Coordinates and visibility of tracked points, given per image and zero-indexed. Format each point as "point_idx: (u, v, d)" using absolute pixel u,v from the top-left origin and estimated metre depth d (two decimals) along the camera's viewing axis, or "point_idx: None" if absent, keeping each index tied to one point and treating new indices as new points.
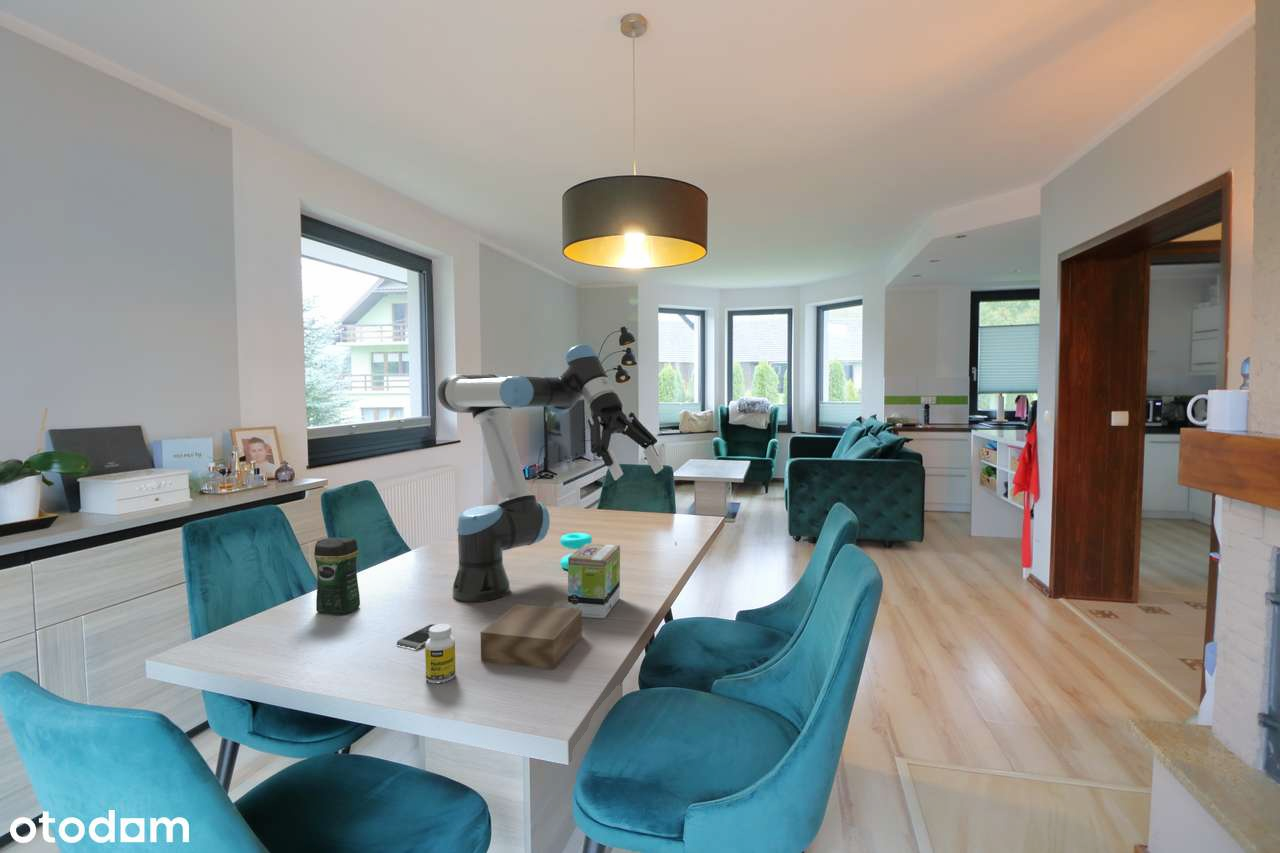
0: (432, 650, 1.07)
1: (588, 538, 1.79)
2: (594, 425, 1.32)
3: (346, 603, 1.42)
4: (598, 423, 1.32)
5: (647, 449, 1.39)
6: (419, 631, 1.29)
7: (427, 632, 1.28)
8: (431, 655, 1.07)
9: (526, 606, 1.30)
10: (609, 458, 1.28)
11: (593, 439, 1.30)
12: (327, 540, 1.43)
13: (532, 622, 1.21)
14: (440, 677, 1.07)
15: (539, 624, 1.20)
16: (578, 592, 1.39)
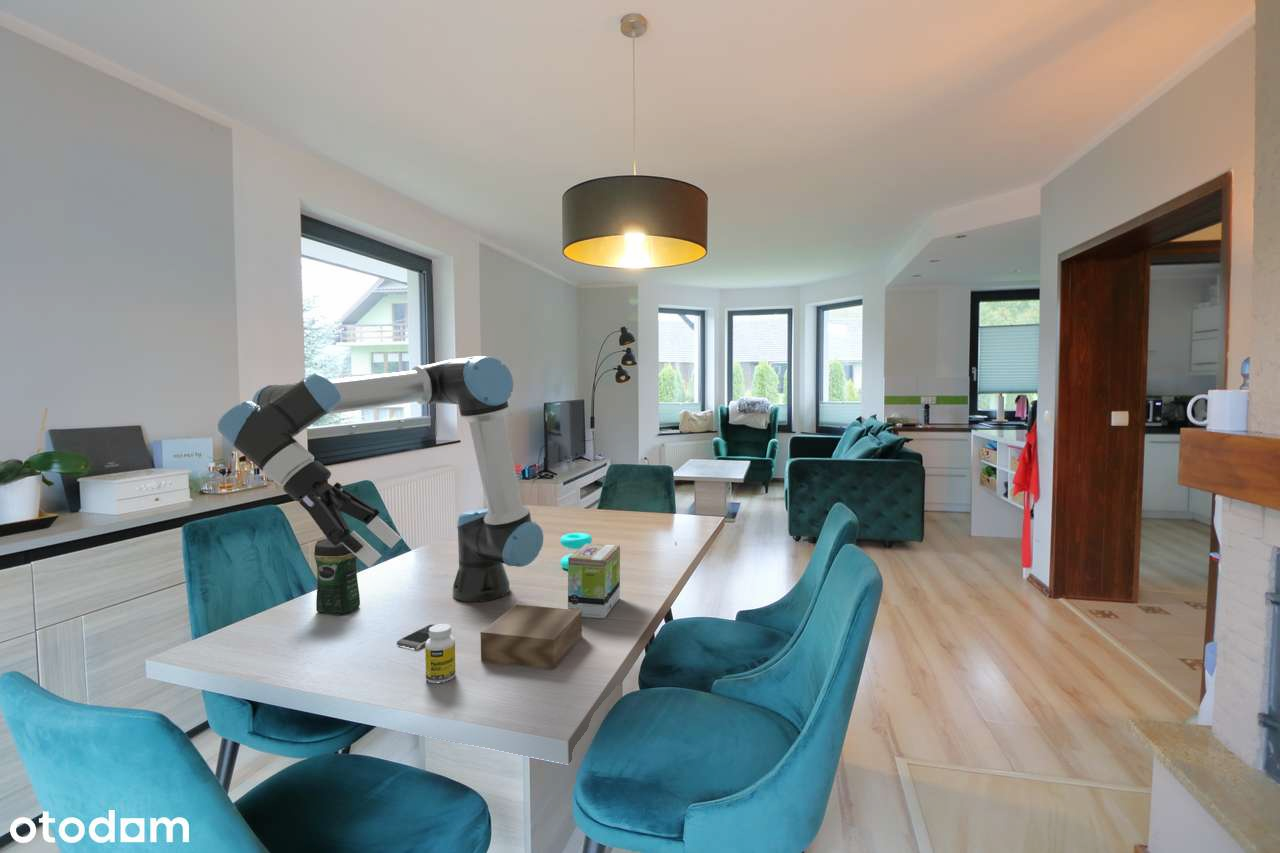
0: (432, 650, 1.07)
1: (588, 538, 1.79)
2: None
3: (346, 603, 1.42)
4: None
5: None
6: (419, 631, 1.29)
7: (427, 632, 1.28)
8: (431, 655, 1.07)
9: (526, 606, 1.30)
10: None
11: None
12: (327, 540, 1.44)
13: (532, 622, 1.21)
14: (440, 677, 1.07)
15: (539, 624, 1.20)
16: (578, 592, 1.39)
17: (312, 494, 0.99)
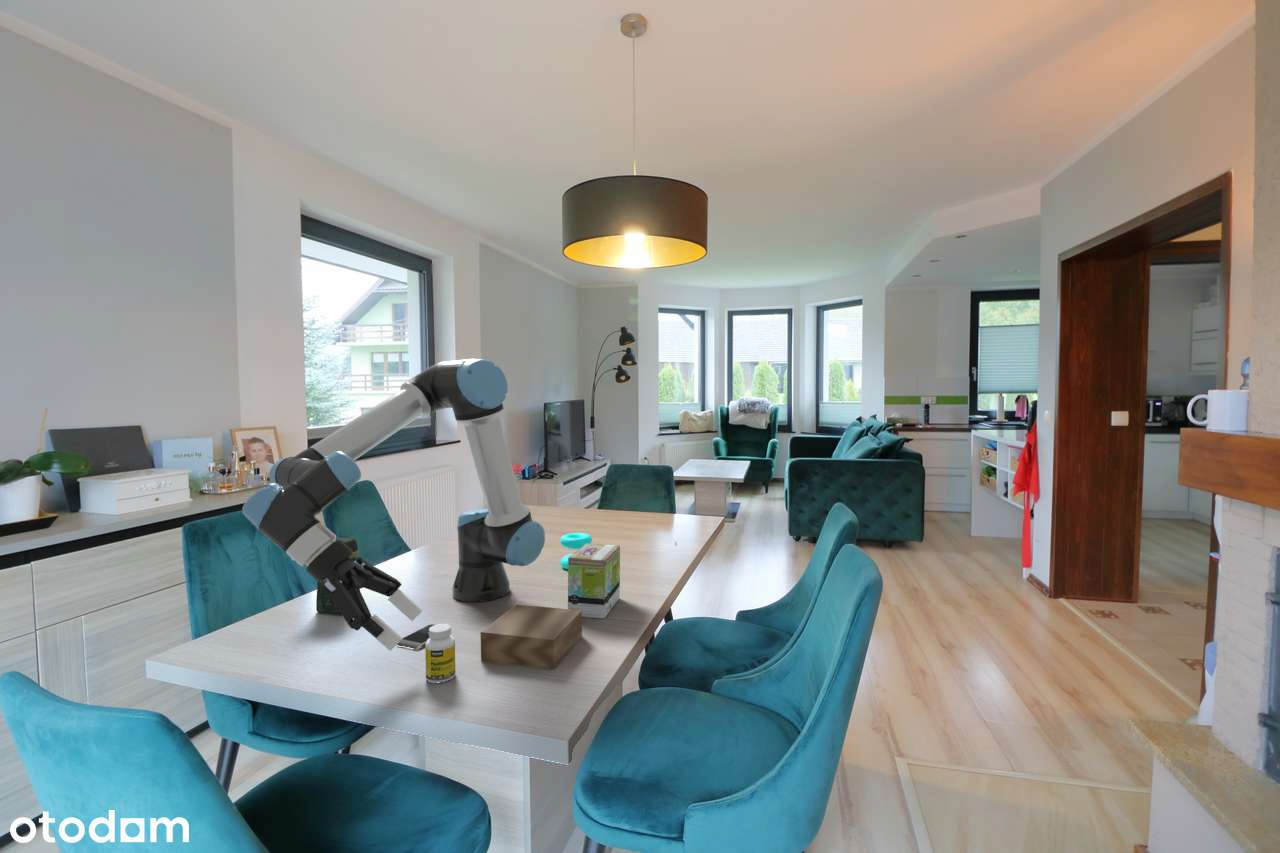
0: (432, 650, 1.07)
1: (588, 538, 1.79)
2: None
3: None
4: None
5: None
6: (419, 631, 1.29)
7: (427, 632, 1.28)
8: (431, 655, 1.07)
9: (526, 606, 1.30)
10: None
11: None
12: None
13: (532, 622, 1.21)
14: (440, 677, 1.07)
15: (539, 624, 1.20)
16: (578, 592, 1.39)
17: (334, 579, 1.00)
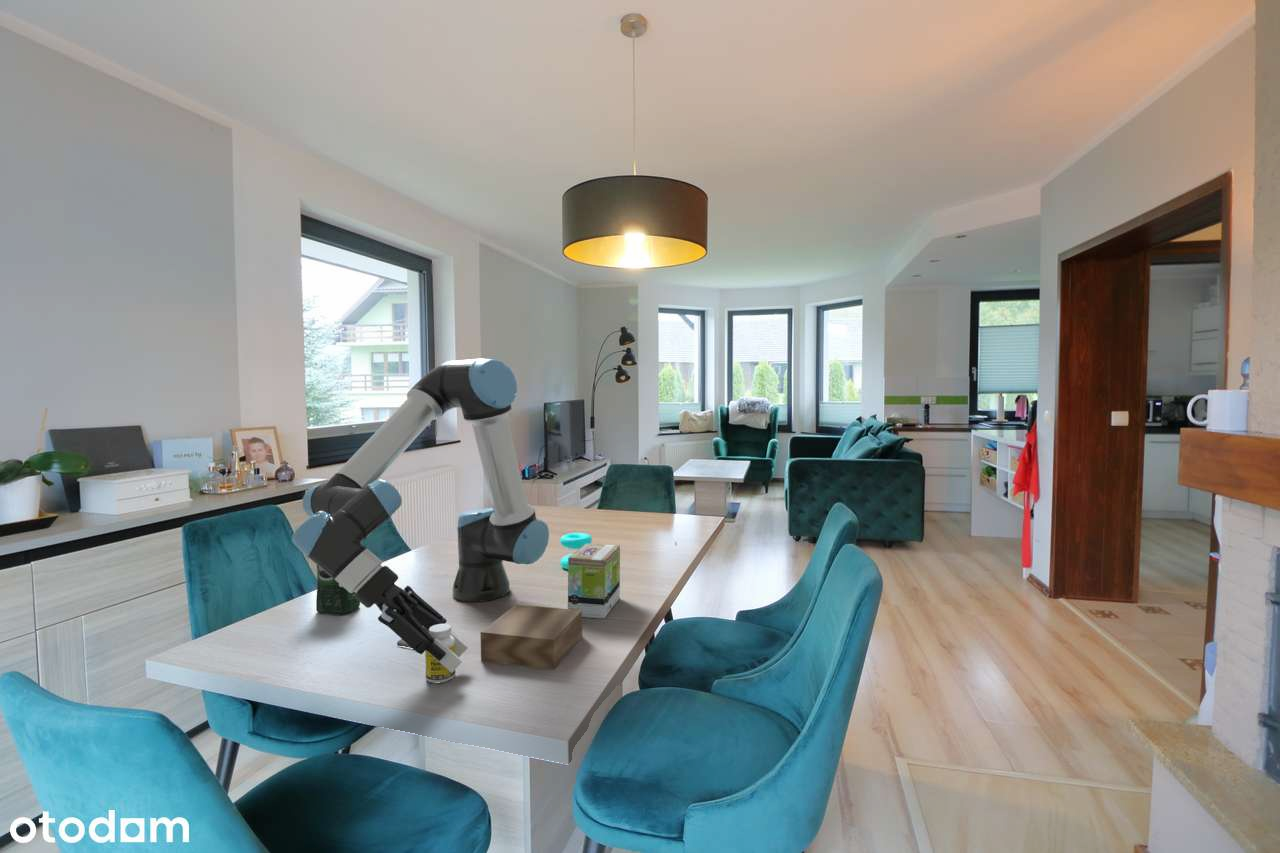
0: None
1: (588, 538, 1.79)
2: None
3: (346, 603, 1.42)
4: None
5: None
6: None
7: None
8: (431, 655, 1.07)
9: (526, 606, 1.30)
10: None
11: None
12: None
13: (532, 622, 1.21)
14: (440, 677, 1.07)
15: (539, 624, 1.20)
16: (578, 592, 1.39)
17: (390, 611, 1.02)
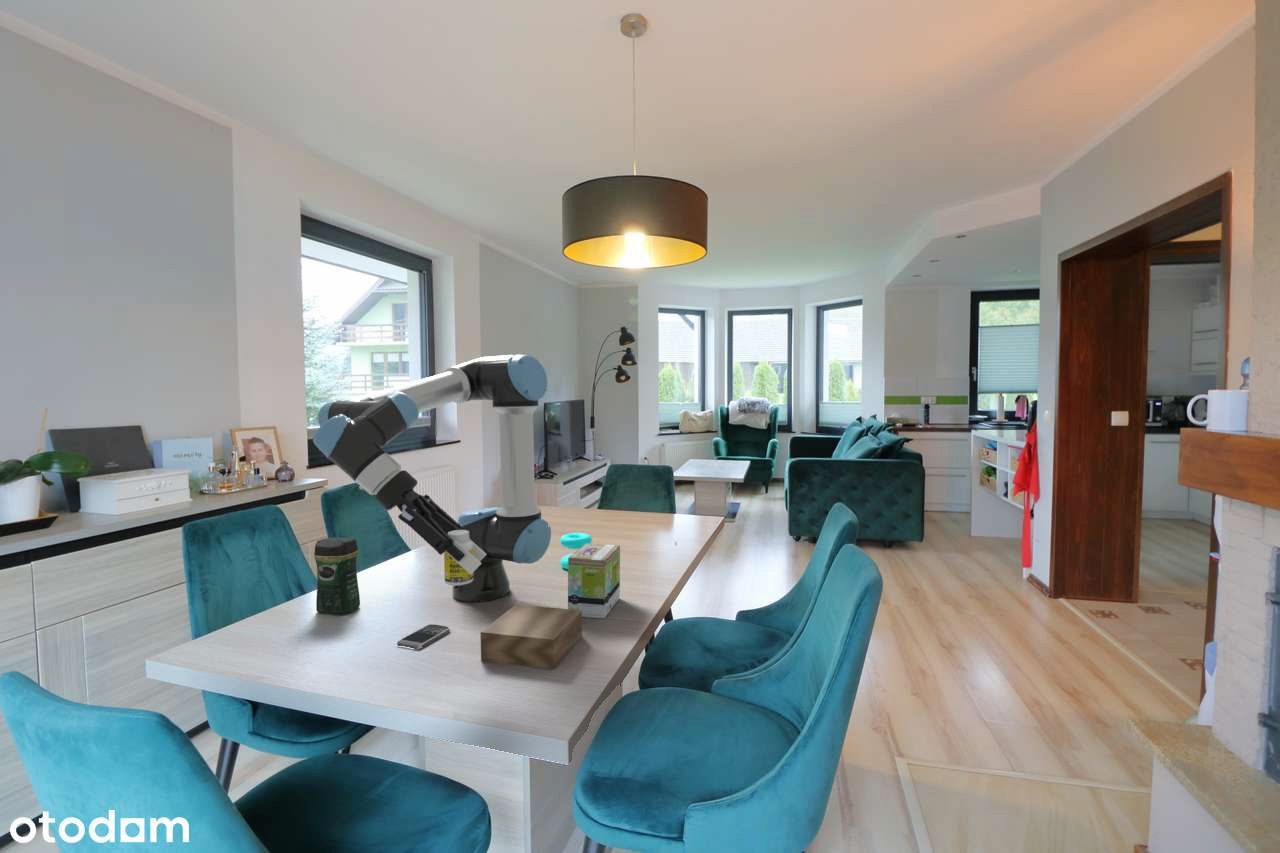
0: None
1: (588, 538, 1.79)
2: None
3: (346, 603, 1.42)
4: None
5: None
6: (418, 631, 1.29)
7: (427, 632, 1.28)
8: (450, 557, 1.08)
9: (526, 606, 1.30)
10: None
11: None
12: (327, 540, 1.44)
13: (532, 622, 1.21)
14: (459, 580, 1.08)
15: (539, 624, 1.20)
16: (578, 592, 1.39)
17: (410, 509, 1.03)
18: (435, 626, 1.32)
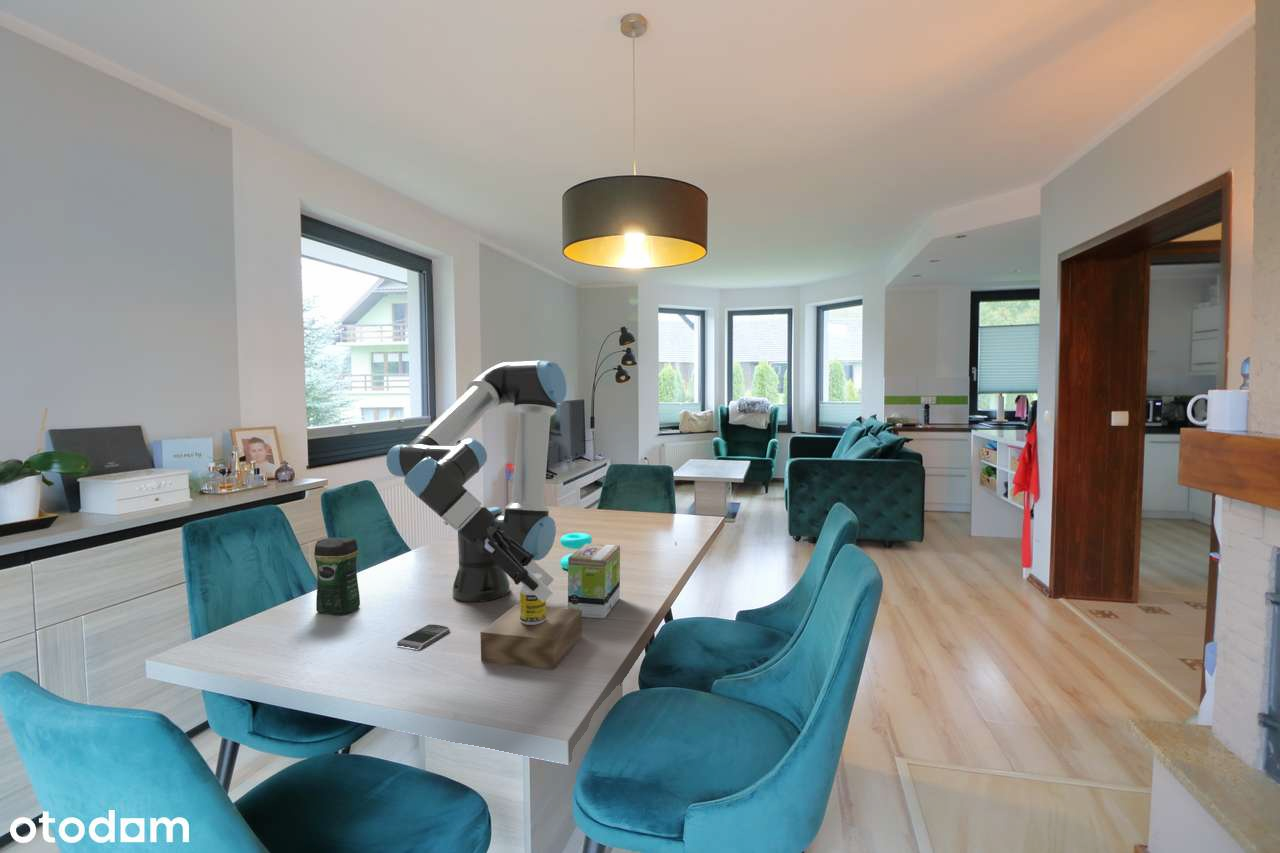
0: (528, 594, 1.19)
1: (588, 538, 1.79)
2: None
3: (346, 603, 1.42)
4: None
5: None
6: (418, 631, 1.29)
7: (427, 632, 1.29)
8: (527, 599, 1.19)
9: None
10: None
11: None
12: (327, 540, 1.44)
13: None
14: (534, 620, 1.19)
15: (539, 624, 1.20)
16: (578, 592, 1.39)
17: (492, 542, 1.14)
18: (435, 626, 1.32)
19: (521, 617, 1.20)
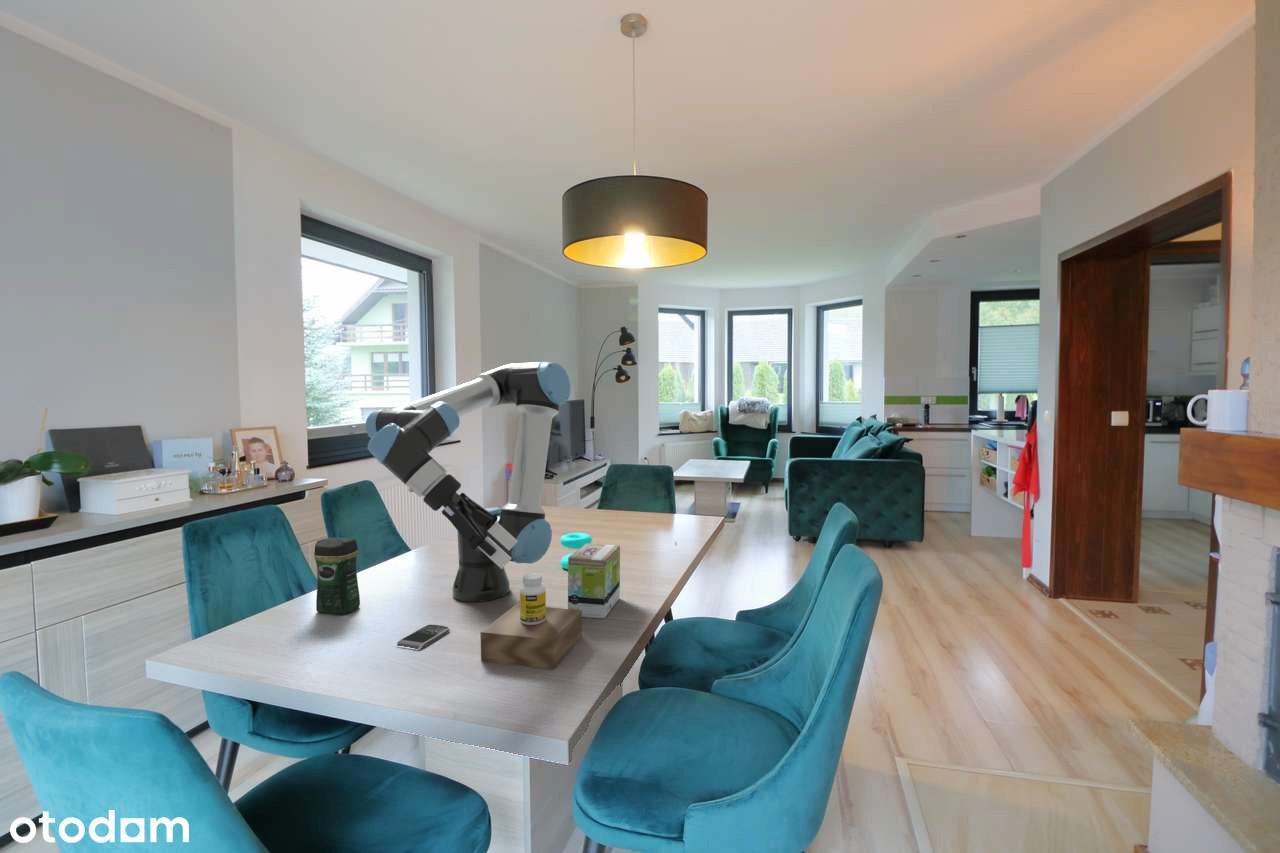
0: (527, 595, 1.19)
1: (588, 538, 1.79)
2: None
3: (346, 603, 1.42)
4: None
5: None
6: (418, 631, 1.29)
7: (427, 632, 1.29)
8: (526, 599, 1.19)
9: None
10: None
11: None
12: (327, 540, 1.43)
13: None
14: (534, 620, 1.19)
15: (539, 624, 1.20)
16: (578, 592, 1.39)
17: (452, 505, 1.12)
18: (435, 626, 1.32)
19: (521, 617, 1.20)
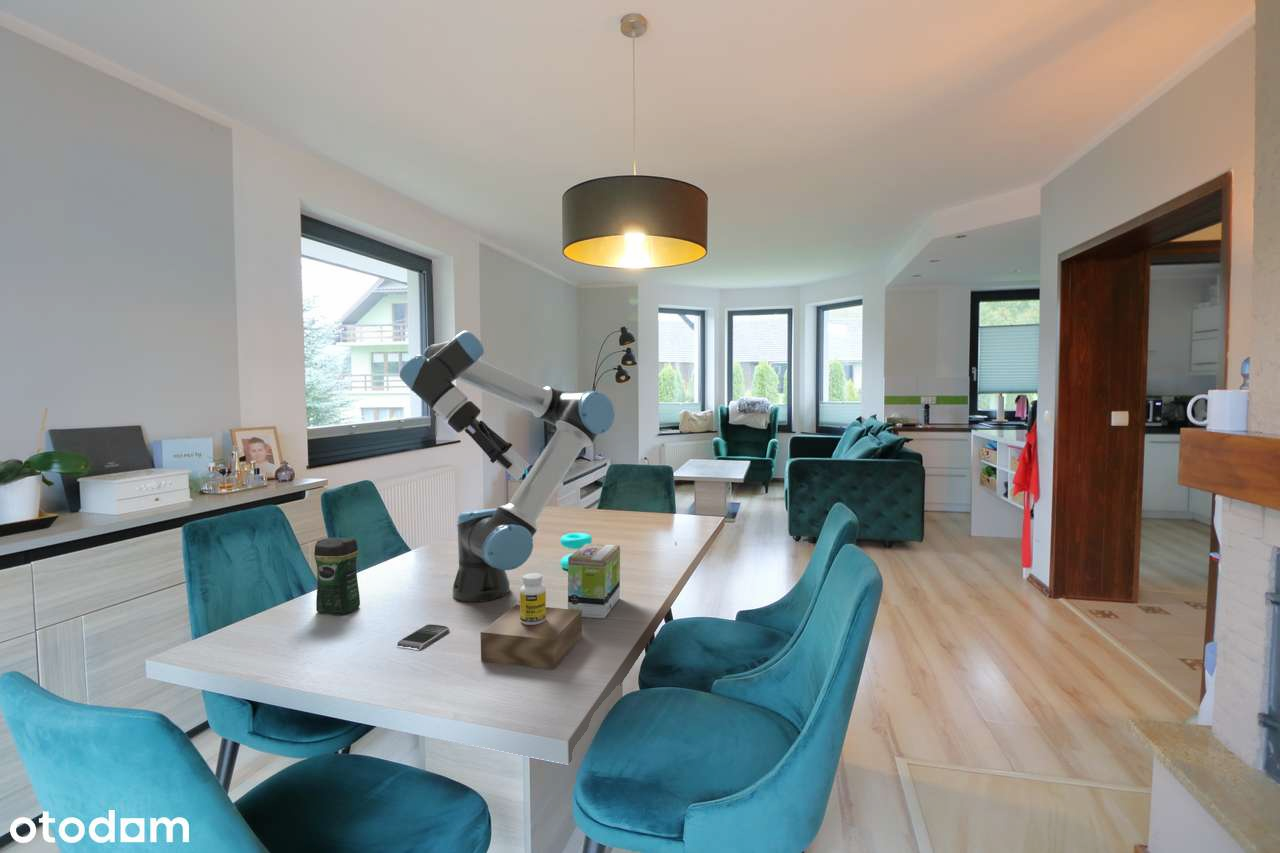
0: (528, 594, 1.19)
1: (588, 538, 1.79)
2: None
3: (346, 603, 1.42)
4: None
5: None
6: (418, 631, 1.29)
7: (426, 632, 1.29)
8: (526, 599, 1.19)
9: None
10: None
11: None
12: (327, 540, 1.44)
13: None
14: (534, 620, 1.19)
15: (539, 624, 1.20)
16: (578, 592, 1.39)
17: (474, 424, 1.29)
18: (434, 626, 1.32)
19: (521, 617, 1.20)
